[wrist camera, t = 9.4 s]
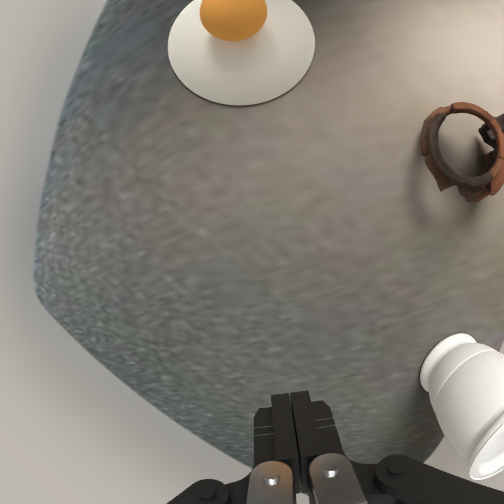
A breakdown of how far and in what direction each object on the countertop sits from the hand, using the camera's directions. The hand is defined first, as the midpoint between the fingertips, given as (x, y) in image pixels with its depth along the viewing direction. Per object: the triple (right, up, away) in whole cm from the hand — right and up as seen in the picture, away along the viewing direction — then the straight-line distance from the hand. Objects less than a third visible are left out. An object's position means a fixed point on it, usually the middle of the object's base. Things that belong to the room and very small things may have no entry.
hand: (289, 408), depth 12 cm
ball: (-3, +26, +9) cm, 27 cm away
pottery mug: (+19, +16, +14) cm, 29 cm away
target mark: (-3, +25, +12) cm, 28 cm away
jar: (+22, -7, +19) cm, 30 cm away
